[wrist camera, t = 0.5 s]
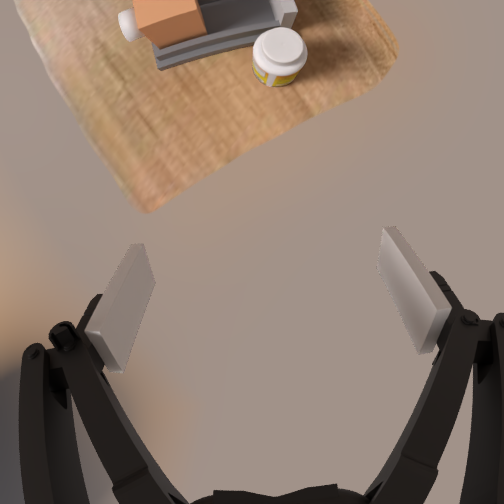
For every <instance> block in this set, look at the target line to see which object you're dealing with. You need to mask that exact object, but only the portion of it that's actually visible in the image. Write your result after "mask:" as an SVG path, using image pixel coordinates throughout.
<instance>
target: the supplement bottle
mask: <svg viewBox="0 0 504 504" xmlns="http://www.w3.org/2000/svg"><path fill="white" fill-rule="evenodd" d="M307 54H308V53H307V47H306V44H305V42H304V41H303V39H302V38H301V37H300V35H299V34H298V33H297V32H295V31H294V30H292V29H289V28H285V27H278V28H274V29H271V30H268V31H266V32H264V33H262V34H261V35H260V36H259V37H258V38H257V40H256V41H255V43H254V47H253V72H254V75H255V76H256V78H257V79H258V80H259V81H260V82H261V83H263V84H264V85H267V86H270V87H282V86H285V85H287V84H289V83H290V82H292V81H293V79H294V78H295V77H296V75H297V74H298V73H299V71H300V70H301V69H302V67H303V66H304V64H305V62H306V60H307Z"/></svg>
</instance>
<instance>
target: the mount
mask: <svg viewBox="0 0 504 504" xmlns="http://www.w3.org/2000/svg"><path fill="white" fill-rule="evenodd" d="M198 3H199V6H200V8H201V12H202V16H203V19H204V23H205V27H206V30H207V34H208V35H206V36H202V37H199V38H195V39H192V40H189V41H185V42H182V43H179V44H176V45H173V46H170V47H167V48H164V49H161V50H160V49H159V48H158V47H157V46H156V45H155V44H154V43H153V42H152V46H153V50H154V55H155V59H156V63H157V67H158V69H159V70H160V71H162V70H165V69H168V68H171V67H174V66H177V65H180V64H183V63H186V62H190V61H193V60H196V59H200V58H203V57H207V56H211V55H214V54H218V53H222V52H226V51H230V50H234V49H239V48H243V47H248V46H253V45H254V43H255V41H256V40H257V38H258V37H259V36H260V35H261V34H262V33H264V32H266V31H268V30H271V29H274V28H278V27H285V28H289V29H291V27H292V25H293V22H294V20H295V17H296V15H297V13H298V10H297V7H296V5H295V2H294V0H198Z"/></svg>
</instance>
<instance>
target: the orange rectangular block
mask: <svg viewBox="0 0 504 504" xmlns="http://www.w3.org/2000/svg"><path fill="white" fill-rule="evenodd" d="M132 1H133V6H134V7H132V8H130V9H127V10H125V11H122V12H120V13H119V16H118V18H119V24H120V28H121V30H122V32H123V35H124V36H125V38H126V39H127V40H128V41H129V42H131V41H134V40H136V39H139V38H141V37H144V36H146V37H147V38H148V39H149V40H150V41H151V42H153V43H154V44H155V45H156V46H157V47H158V48H159V49H160V50H161V49H164V48H167V47H170V46H173V45H176V44H179V43H182V42H185V41H189V40H192V39H195V38H199V37H202V36H206V35H208V34H207V30H206V27H205V23H204V19H203V16H202V12H201V8H200V6H199V3H198V0H132Z"/></svg>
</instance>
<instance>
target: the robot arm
mask: <svg viewBox="0 0 504 504" xmlns="http://www.w3.org/2000/svg"><path fill="white" fill-rule="evenodd" d="M377 270H378V272H379V273H380V275H381V277H382V279H383V281H384V283H385V285H386V287H387V289H388V291H389V293H390V295H391V297H392V299H393V301H394V303H395V305H396V307H397V310H398V312H399V314H400V316H401V318H402V320H403V322H404V324H405V327H406V329H407V331H408V333H409V335H410V337H411V340H412V342H413V344H414V347H415V349H416V351H417V353H418V355H420V354H425V353H430V352H432V351H433V349H434V347H435V345H436V343H437V345H438V347H439V349H440V350H439V352H438V354H437V356H436V358H435V360H434V361H433V363H432V365H433V367H432V369H431V372H430V374H429V377H428V379H427V382H426V384H425V386H424V389H423V391H422V393H421V395H420V398H419V400H418V402H417V404H416V406H415V409H414V411H413V413H412V415H411V417H410V419H409V421H408V423H407V425H406V427H405V429H404V431H403V433H402V435H401V437H400V438H399V440H398V442H397V444H396V446H395V448H394V449H393V451H392V453H391V455H390V456H389V458H388V460H387V461H386V463H385V465H384V467H383V468H382V470H381V471H380V473H379V475H378V476H377V477H376V479H375V480H374V481H373V483H372V484H371V485H370V487H369V488H368V490H367V491H366V492H365V494H364V495H361V494H359V493H357V492H354V491H350V490H345V489H338V487H337V484H331V485H324V486H316V487H308V488H304V489H301V490H298V491H295V492H292V493H289V494H285V495H282V496H278V497H271V496H266V495H260V494H256V493H251V492H246V491H223V490H221V491H220V490H214V491H213V495H211V496H207V497H203V498H201V499H198V500H196V501H194V502H193V503H190V504H423V503H424V501H425V500H426V498H427V496H428V494H429V492H430V490H431V488H432V486H433V484H434V482H435V480H436V477H437V475H438V470H437V465H438V463H439V460H440V458H441V456H442V454H443V451H444V449H445V447H446V444H447V442H448V439H449V437H450V434H451V431H452V429H453V426H454V424H455V421H456V418H457V415H458V412H459V409H460V406H461V403H462V400H463V397H464V394H465V390H466V387H467V383H468V379H469V376H470V372H471V368H472V365H473V405H472V422H471V433H470V443H469V451H468V459H467V465H466V472H465V477H464V483H463V488H462V493H461V498H460V504H504V313H498V314H496V316H495V317H494V319H493V321H488V320H480V318H479V316H478V315H477V314H476V313H475V312H473V311H471V310H467V309H464V308H463V306H462V305H461V303H460V302H459V300H458V298H457V297H456V295H455V294H454V292H453V291H451V288H450V287H449V285H448V284H447V282H446V281H445V279H444V278H443V277H442V276H441V275H439V274H438V273H437V272H436V271H431V272H428V270H427V269H426V267H425V266H424V264H423V263H422V262H421V260H420V259H419V257H418V256H417V255H416V253H415V252H414V251H413V249H412V248H411V246H410V245H409V244H408V242H407V241H406V240H405V238H404V237H403V236H402V234H401V233H400V232H399V230H398V229H397V228H396V227H394V226H393V227H383V232H382V239H381V245H380V252H379V258H378V264H377ZM154 286H155V280H154V277H153V273H152V270H151V267H150V264H149V260H148V257H147V254H146V250H145V247H144V244H132V245H131V246H130V247H129V249H128V251H127V253H126V254H125V256H124V258H123V260H122V261H121V263H120V265H119V266H118V268H117V270H116V272H115V274H114V275H113V277H112V279H111V281H110V282H109V284H108V286H107V288H106V290H105V292H104V294H97V295H96V296H95V297H94V298H93V299H92V300H91V301H90V303H89V305H88V307H87V310H85V312H84V316H82V318H81V320H80V322H79V324H78V326H77V328H76V329H75V327H74V325H73V324H72V323H71V322H69V321H63V322H60V323H58V324H57V325H55V326H54V327H53V328H52V329H51V330H50V333H49V340H50V341H51V342H52V344H53V346H54V347H55V348H52V349H47V350H46V349H45V348H44V347H43V345H42V344H40V343H34V344H32V345H30V346H29V347H27V348H26V350H25V351H24V353H23V357H22V366H21V378H20V393H19V450H20V465H21V476H22V485H23V493H24V499H25V504H90V503H89V499H88V495H87V491H86V487H85V483H84V478H83V473H82V469H81V464H80V459H79V453H78V447H77V441H76V435H75V428H74V419H73V411H72V401H71V394H72V396H73V399H74V402H75V404H76V407H77V409H78V412H79V414H80V417H81V419H82V421H83V424H84V426H85V428H86V431H87V433H88V435H89V437H90V439H91V442H92V444H93V446H94V448H95V450H96V452H97V454H98V456H99V458H100V460H101V462H102V464H103V466H104V468H105V469H106V471H107V473H108V475H109V477H110V479H111V480H112V483H113V487H112V491H113V493H114V495H115V497H116V499H117V501H118V502H119V504H189V503H188V502H187V500H186V499H185V498H184V497H183V496H182V495H181V494H180V493H179V492H178V491H177V489H176V488H175V487H174V486H173V485H172V484H171V482H170V481H169V479H168V478H167V477H166V475H165V474H164V473H163V471H162V470H161V468H160V467H159V466H158V464H157V463H156V461H155V460H154V458H153V457H152V455H151V454H150V452H149V451H148V450H147V448H146V446H145V445H144V443H143V442H142V440H141V438H140V437H139V435H138V434H137V432H136V430H135V429H134V427H133V425H132V424H131V422H130V420H129V419H128V417H127V415H126V414H125V412H124V410H123V408H122V407H121V405H120V403H119V401H118V399H117V398H116V396H115V394H114V392H113V390H112V388H111V386H110V384H109V382H108V380H107V378H106V376H105V374H104V373H103V371H102V370H103V367H104V365H105V366H106V367H107V369H108V370H109V371H110V372H116V373H124V371H125V368H126V365H127V362H128V359H129V355H130V353H131V350H132V347H133V344H134V341H135V338H136V335H137V332H138V329H139V326H140V324H141V321H142V318H143V315H144V313H145V310H146V307H147V304H148V302H149V299H150V296H151V294H152V291H153V288H154Z"/></svg>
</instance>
